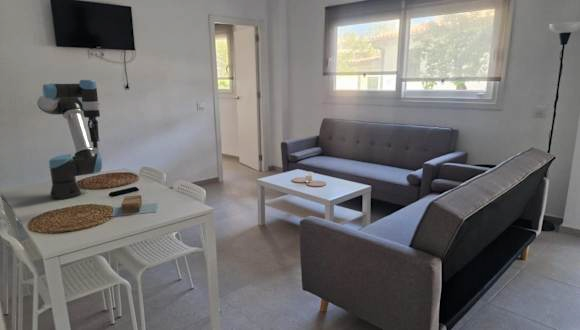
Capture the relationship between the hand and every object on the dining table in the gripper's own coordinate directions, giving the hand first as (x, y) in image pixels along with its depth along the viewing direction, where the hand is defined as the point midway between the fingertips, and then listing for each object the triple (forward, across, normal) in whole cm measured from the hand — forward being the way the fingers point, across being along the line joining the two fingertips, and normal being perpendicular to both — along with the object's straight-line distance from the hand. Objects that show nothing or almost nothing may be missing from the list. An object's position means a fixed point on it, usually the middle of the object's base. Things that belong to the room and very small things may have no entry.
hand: (96, 153), depth 197 cm
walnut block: (+24, -16, -18) cm, 34 cm away
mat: (+26, -24, -18) cm, 40 cm away
